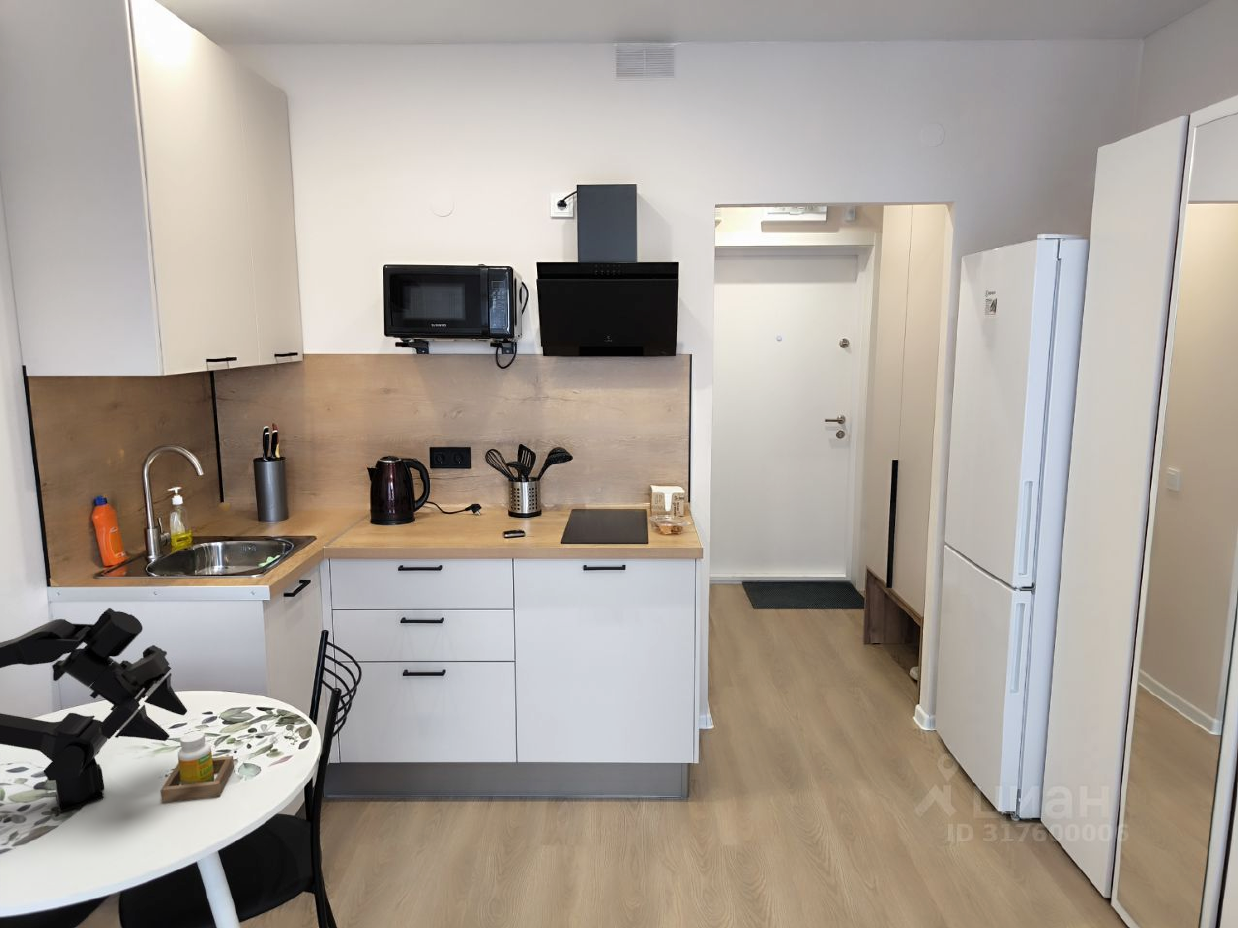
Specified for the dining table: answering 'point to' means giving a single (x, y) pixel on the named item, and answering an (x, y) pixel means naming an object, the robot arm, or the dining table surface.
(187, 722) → the dining table surface
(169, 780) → the walnut collar
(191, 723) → the dining table surface
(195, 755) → the supplement bottle
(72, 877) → the dining table surface
